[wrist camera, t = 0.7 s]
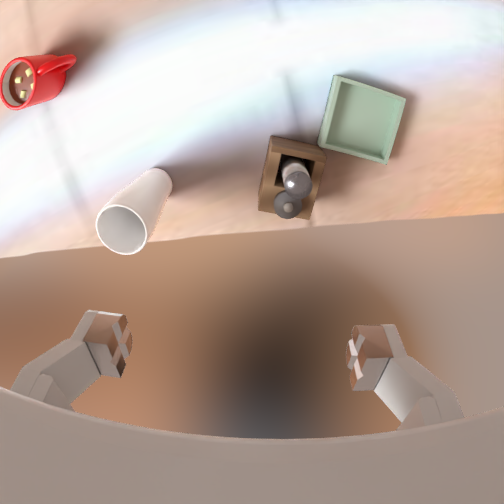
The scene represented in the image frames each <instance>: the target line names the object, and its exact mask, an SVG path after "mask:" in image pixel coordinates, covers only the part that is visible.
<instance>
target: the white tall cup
mask: <svg viewBox="0 0 504 504" xmlns="http://www.w3.org/2000/svg"><path fill="white" fill-rule="evenodd" d="M171 191H172V180H171V178H170V176H169V175H168V174H167V173H166V172H165V171H163V170H161V169H158V168H152V169H148V170H146V171H145V172H144V173H143V174H142V175H141V176H139V177H138V178H137V179H135V180H134V181H133V182H131V183H130V184H129V185H127V186H126V187H124V188H123V189H122V190H120V191H119V192H118V193H117V194H116V195H114V196H113V197H112V198H111V199H110V200H109V201H108V202H107V204H106V205H105V206H104V207H103V209H102V210H101V211H100V212H99V214H98V216H97V220H96V230H97V233H98V236H99V238H100V240H101V241H102V242H103V244H104V245H105V246H106V247H108V248H109V249H110V250H112V251H114V252H116V253H119V254H123V255H130V254H135V253H137V252H139V251H140V250H142V248H144V246H145V245H146V243H147V242H148V240H149V239H150V237H151V235H152V234H153V232H154V230H155V228H156V226H157V224H158V221H159V219H160V216H161V213H162V211H163V208H164V206H165V203H166V201H167V199H168V197H169V195H170V193H171Z"/></svg>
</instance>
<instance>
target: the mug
mask: <svg viewBox="0 0 504 504" xmlns="http://www.w3.org/2000/svg"><path fill="white" fill-rule="evenodd" d="M75 63H76V56H75V55H72V54H67V55H63V56H60V57H58V56H56V55H52V54H48V55H36V56H26V57H18V58H15V59H13V60H12V61H11V62H9V63H8V64H7V66H6V67H5V69H4V70H3V72H2V75H1V78H0V96H1V99H2V101H3V103H4V104H5V105H6V106H7V107H8V108H9V109H12V110H20V109H23V108H26V107H29V106H32V105H36V104H39V103H42V102H45V101H49V100H51V99H53V98H55V97H56V96H57V95H58V94H59V93H60V91H61V90H62V88H63V86H64V83H65V79H66V70H68V69H69V68H71V67H72V66H73V65H74V64H75Z"/></svg>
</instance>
